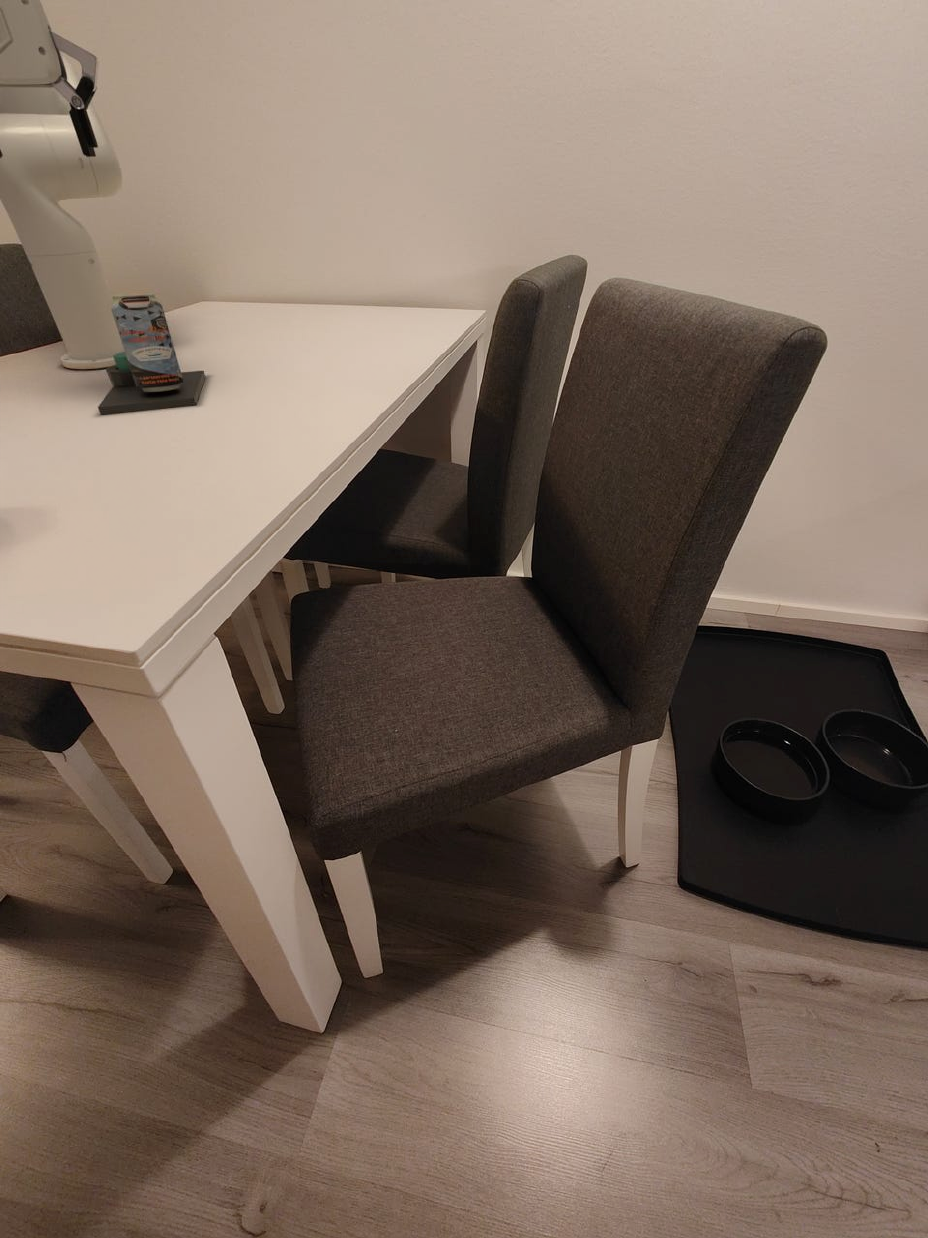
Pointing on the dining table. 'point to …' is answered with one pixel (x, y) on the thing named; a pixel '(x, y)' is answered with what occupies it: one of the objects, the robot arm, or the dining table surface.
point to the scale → (148, 393)
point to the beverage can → (147, 342)
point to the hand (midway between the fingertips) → (43, 156)
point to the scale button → (121, 361)
